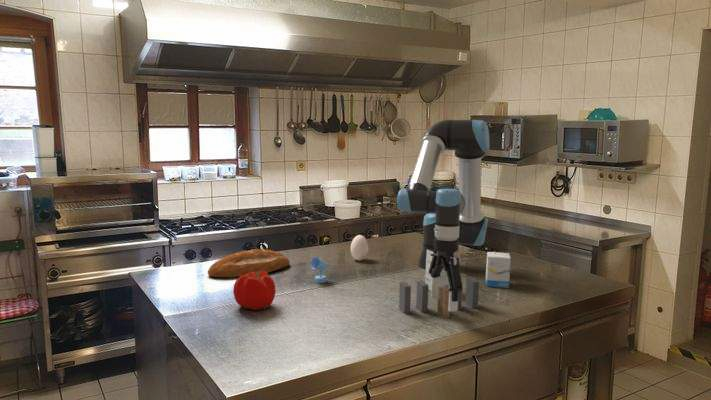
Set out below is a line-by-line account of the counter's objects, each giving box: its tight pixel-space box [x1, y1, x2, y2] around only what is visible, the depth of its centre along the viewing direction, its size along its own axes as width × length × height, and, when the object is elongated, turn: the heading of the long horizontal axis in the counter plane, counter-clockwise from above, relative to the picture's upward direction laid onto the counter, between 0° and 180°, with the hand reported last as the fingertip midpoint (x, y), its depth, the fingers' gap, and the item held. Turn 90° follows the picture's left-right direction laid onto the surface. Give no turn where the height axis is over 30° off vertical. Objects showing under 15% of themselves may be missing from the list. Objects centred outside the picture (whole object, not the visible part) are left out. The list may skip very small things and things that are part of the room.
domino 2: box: [415, 280, 429, 313], centre depth 171 cm, size 5×2×9 cm, turn 15°
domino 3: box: [449, 282, 463, 310], centre depth 174 cm, size 5×2×9 cm, turn 15°
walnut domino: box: [436, 285, 451, 319], centre depth 167 cm, size 5×2×9 cm, turn 15°
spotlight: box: [309, 256, 329, 284], centre depth 200 cm, size 5×10×7 cm
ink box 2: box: [485, 251, 512, 289], centre depth 200 cm, size 9×8×12 cm
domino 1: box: [398, 281, 412, 315], centre depth 170 cm, size 5×2×9 cm, turn 15°
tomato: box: [232, 271, 276, 311], centre depth 171 cm, size 13×14×12 cm
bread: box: [207, 248, 290, 279], centre depth 213 cm, size 18×35×9 cm, turn 125°
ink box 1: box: [424, 249, 449, 291], centre depth 191 cm, size 8×5×15 cm, turn 26°
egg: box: [350, 234, 369, 261], centre depth 231 cm, size 8×8×11 cm
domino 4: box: [465, 277, 480, 309], centre depth 176 cm, size 5×2×9 cm, turn 15°
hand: (443, 303), depth 166 cm, fingers open, 13 cm apart
